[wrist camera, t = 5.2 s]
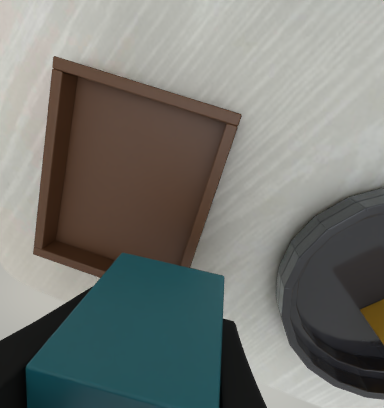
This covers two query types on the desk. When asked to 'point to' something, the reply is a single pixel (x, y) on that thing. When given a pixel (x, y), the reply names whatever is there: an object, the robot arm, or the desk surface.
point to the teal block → (135, 342)
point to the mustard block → (375, 318)
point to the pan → (337, 293)
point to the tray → (126, 170)
